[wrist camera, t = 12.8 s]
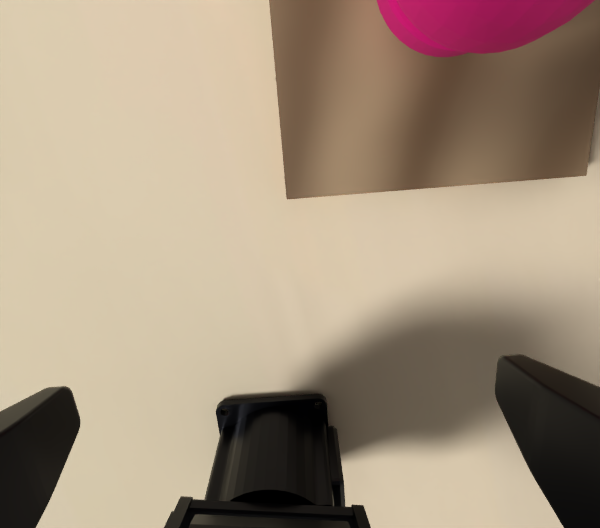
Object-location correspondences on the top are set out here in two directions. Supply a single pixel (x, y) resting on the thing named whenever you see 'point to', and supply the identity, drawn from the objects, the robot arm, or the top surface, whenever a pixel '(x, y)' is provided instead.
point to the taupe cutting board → (426, 104)
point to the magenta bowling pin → (474, 23)
